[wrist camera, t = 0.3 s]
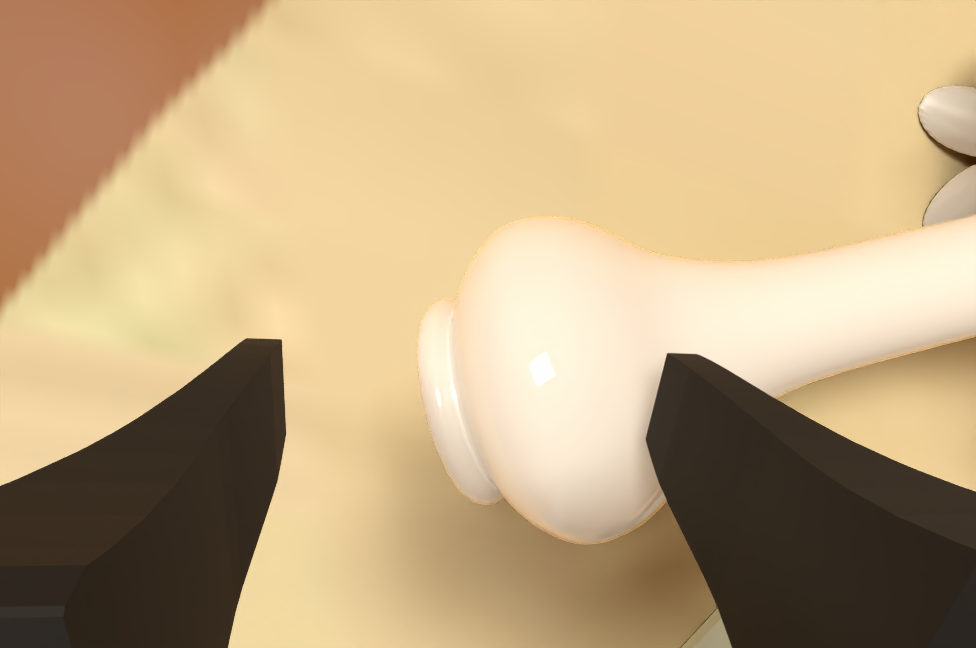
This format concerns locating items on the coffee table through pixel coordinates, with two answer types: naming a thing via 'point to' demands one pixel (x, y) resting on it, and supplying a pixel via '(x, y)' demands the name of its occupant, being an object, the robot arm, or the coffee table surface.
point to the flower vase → (666, 341)
